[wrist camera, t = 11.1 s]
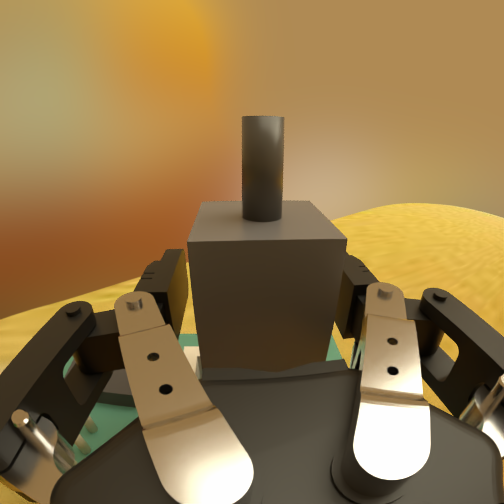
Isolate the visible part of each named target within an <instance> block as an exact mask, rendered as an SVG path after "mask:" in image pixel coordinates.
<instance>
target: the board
mask: <svg viewBox="0 0 504 504" xmlns="http://www.w3.org/2000/svg"><path fill="white" fill-rule="evenodd" d="M178 342H179V344H180V346H181V348H182V350H183V352H184V354H185V356H186V358H187V359H188V361H189V363H190V365H191V367H192V369H193V371H194V373H195V375H196V376H197V378H198V379H202V366H201V359H200V352H199V345H198V338H197V334H180V335H179V340H178ZM338 359H342V357H341V355H340V352H339V350H338V348H337V345H336V343H335V341H334V339H333V336H332V335H331V340H330V344H329V349H328V353H327V358H326V361H330V360H338ZM75 363H76V362H75V360H74V358H73V355H72V357H71V358H70V359H69V361H68V362H67V363H66V365H65V367H64V370H63V377H64V379H65V377H66V376H67V375H68V373H69V372H70V370H71V369H72V368H73V366H74V365H75ZM137 417H138V412H137V409H136V406H135V402H134V399H133V395H132V392H131V388H130V385H129V381H128V377H127V373H126V369H120V370H114V372H113V374H112V376H111V378H110V380H109V381H108V383H107V385H106V387H105V388H104V390H103V392H102V394H101V395H100V397H99V399H98V401H97V402H96V404H95V406H94V408H93V410H92V411H91V413H90V415H89V417H88V419H87V421H86V422H85V424H84V426H83V428H82V430H81V432H80V434H79V435H78V437H77V439H76V441H75V443H74V445H73V447H72V448H73V450H74V454H75V461H74V464H73V465H74V466H75V465H76V464H77V463H79V462H80V461H81V460H83V459H84V458H85V457H87V456H88V455H89V454H91V453H92V452H93V451H95V450H96V449H97V448H99V447H100V446H101V445H103V444H104V443H105V442H107V441H108V440H109V439H110V438H112V437H113V436H114V435H116V434H117V433H118V432H119V431H121V430H122V429H123V428H124V427H126V426H127V425H128V424H129V423H131V422H132V421H133V420H134V419H136V418H137Z"/></svg>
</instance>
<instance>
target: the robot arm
mask: <svg viewBox="0 0 504 504" xmlns="http://www.w3.org/2000/svg"><path fill="white" fill-rule="evenodd" d="M187 298H188V278H187V269H186V259H185V252H184V249H167V250H166V251H165V253H164V255H163V257H162V259H161V261H154V262H152V263H151V264H150V265H148V266H147V267H146V269H145V271H144V274H143V275H142V276H141V279H140V280H139V282H138V284H137V286H136V288H135V289H134V291H133V292H130V293H127V294H124V295H122V296H121V297H119V298H118V299H117V300H116V302H115V304H114V308H115V309H113V310H109V311H104V312H98V313H94V312H93V308H92V306H91V304H90V303H88V302H85V301H76V302H72V303H69V304H67V305H65V306H63V307H62V308H61V309H59V310H58V311H57V312H56V313H55V315H54V316H53V317H52V318H51V319H50V320H49V321H48V322H47V323H46V324H45V325H44V326H43V327H42V328H41V329H40V330H39V331H38V332H37V333H36V335H35V336H34V337H33V338H32V339H31V340H30V341H29V342H28V343H27V344H26V345H25V347H24V348H23V349H22V350H21V351H20V352H19V353H18V355H17V356H16V357H15V358H14V359H13V360H12V361H11V363H10V364H9V365H8V366H7V367H6V369H5V370H4V371H3V372H2V373H1V375H0V482H1V483H2V484H4V485H5V486H6V487H8V488H9V489H11V490H13V491H15V492H16V493H18V494H19V495H20V496H22V497H23V498H25V499H26V500H28V501H30V502H35V503H36V502H37V503H39V504H504V488H503V462H502V460H503V459H504V337H503V336H502V335H501V334H500V333H498V332H497V331H496V330H495V329H494V328H492V327H491V326H490V325H489V324H488V323H486V322H485V321H484V320H483V319H482V318H480V317H479V316H478V315H477V314H476V313H474V312H473V311H472V310H471V309H469V308H468V307H467V306H466V305H464V304H463V303H462V302H460V301H459V300H458V299H457V298H455V297H454V296H453V295H451V294H450V293H449V292H447V291H445V290H442V289H438V288H428V289H426V290H424V292H423V295H422V298H421V300H417V299H407V298H404V295H403V292H402V291H401V290H400V289H399V288H398V287H396V286H394V285H392V284H388V283H383V282H379V281H378V280H377V279H376V277H375V276H374V275H373V274H372V273H371V272H370V271H369V269H368V268H367V267H365V265H364V264H363V263H362V261H361V260H359V259H357V258H356V257H354V256H352V255H349V254H348V253H347V252H346V253H345V260H344V267H343V274H342V280H341V286H340V292H339V298H338V303H337V309H336V314H335V320H334V321H335V323H336V325H337V327H338V329H339V331H340V333H341V335H342V337H343V339H346V338H355V342H354V345H353V350H352V356H351V362H350V368H348V367H347V364H346V362H345V360H344V359H338V360H330V361H322V362H313V363H309V364H305V365H302V366H299V367H295V368H292V369H288V370H285V371H281V372H266V371H259V370H251V369H244V368H203V370H202V379H198V378H197V376H196V375H195V373H194V371H193V369H192V367H191V365H190V363H189V361H188V359H187V358H186V356H185V354H184V352H183V350H182V348H181V346H180V344H179V342H178V340H179V335H180V330H181V326H182V321H183V316H184V312H185V307H186V303H187ZM444 333H446V334H447V335H448V336H449V337H450V338H451V339H452V340H453V341H454V342H455V343H456V344H457V346H458V349H459V355H458V358H457V360H456V362H454V361H453V360H452V359H451V358H450V357H449V356H448V355H447V354H446V353H445V352H444V351H443V350H442V349H441V348H440V347H439V344H440V342H441V340H442V337H443V335H444ZM72 355H73V358H74V360H75V362H76V363H75V365H74V366H73V368H72V369H71V370H70V372H69V373H68V375H67V376H66V377H65V379H64V377H63V370H64V367H65V365H66V363H67V362H68V361H69V359H70V358H71V357H72ZM120 369H126V373H127V377H128V381H129V385H130V388H131V392H132V395H133V399H134V402H135V406H136V409H137V412H138V417H137V418H136V419H134V420H133V421H132V422H131V423H129V424H128V425H127V426H126V427H124V428H123V429H122V430H121V431H119V432H118V433H117V434H116V435H114V436H113V437H112V438H110V439H109V440H108V441H107V442H105V443H104V444H103V445H101V446H100V447H99V448H97V449H96V450H95V451H93V452H92V453H91V454H89V455H88V456H87V457H85V458H84V459H83V460H81V461H80V462H79V463H77V464H76V465H75V466H74V465H73V464H74V461H75V454H74V450H73V448H72V447H73V445H74V443H75V441H76V439H77V437H78V435H79V434H80V432H81V430H82V428H83V426H84V424H85V422H86V421H87V419H88V417H89V415H90V413H91V411H92V410H93V408H94V406H95V404H96V402H97V401H98V399H99V397H100V395H101V394H102V392H103V390H104V388H105V387H106V385H107V383H108V381H109V380H110V378H111V376H112V374H113V372H114V370H120ZM421 377H422V378H423V379H424V381H425V382H426V383H427V384H428V385H429V387H430V388H431V389H432V390H433V391H434V393H435V394H436V395H437V396H438V397H439V399H440V400H441V401H442V402H443V403H444V405H445V406H446V407H447V408H448V410H449V411H450V412H451V413H452V415H453V416H452V415H450V414H448V413H446V412H444V411H442V410H441V409H439V408H437V407H435V406H433V405H431V404H429V403H428V401H427V400H425V399H424V398H423V392H422V378H421Z"/></svg>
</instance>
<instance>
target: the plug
mask: <svg viewBox="0 0 504 504" xmlns="http://www.w3.org/2000/svg"><path fill="white" fill-rule="evenodd" d="M283 154H284V117H276V116H243V117H242V201H217V202H215V201H214V202H202V204H201V206H200V209H199V212H198V214H197V217H196V219H195V222H194V225H193V227H192V230H191V233H190V235H189V238H188V241H187V246H188V258H189V269H190V279H191V288H192V298H193V306H194V315H195V323H196V330H197V338H198V345H199V352H200V359H201V366H202V370H203V368H244V369H251V370H259V371H266V372H281V371H285V370H288V369H292V368H295V367H299V366H302V365H305V364H309V363H313V362H322V361H326V358H327V353H328V349H329V344H330V340H331V335H332V330H333V325H334V320H335V314H336V309H337V303H338V298H339V292H340V286H341V280H342V274H343V267H344V260H345V253H346V246H347V238H346V237H345V236H344V235H343V234H342V233H341V232H340V231H339V230H338V229H337V228H336V227H335V226H334V225H333V224H332V223H331V222H330V221H329V220H328V219H327V218H326V217H325V216H324V215H323V214H322V213H321V212H320V211H319V210H318V209H317V208H316V207H315V206H314V205H313V204H312V203H311V202H310V201H282V192H283V156H284V155H283Z"/></svg>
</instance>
